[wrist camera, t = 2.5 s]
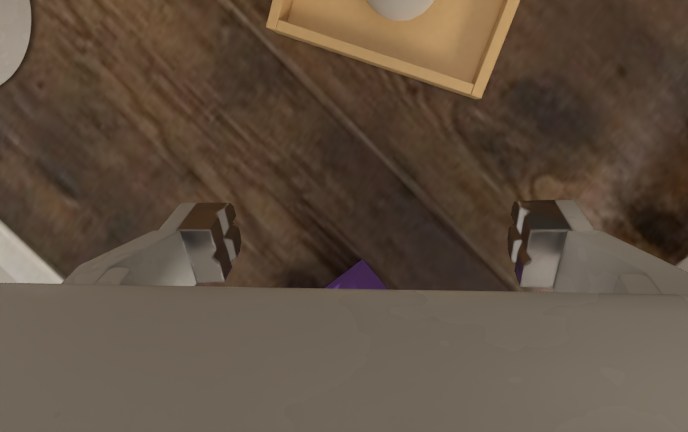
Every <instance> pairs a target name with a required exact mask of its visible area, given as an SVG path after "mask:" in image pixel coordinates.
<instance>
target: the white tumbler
mask: <svg viewBox="0 0 688 432" xmlns="http://www.w3.org/2000/svg"><path fill="white" fill-rule="evenodd" d="M367 1H368V3H369V5H370V6H371V7H372V8H373V9H374V10H375V11H376V12H377V13H378V14H379V15H380V16H382V17H385V18H387V19H390V20H392V21H406V20H411V19H413V18H415V17H417V16H419V15H421V14H423V13H424V12H425V11H426V10H427V9H428V8H429V7H430V6H431V4H432V3H433V2H434V1H435V0H367Z"/></svg>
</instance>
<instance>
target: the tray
mask: <svg viewBox="0 0 688 432" xmlns="http://www.w3.org/2000/svg"><path fill="white" fill-rule="evenodd" d="M519 2H520V0H435V1H434V2H433V3H432V4H431V6H430V7H429V8H428V9H427V10H426V11H425V12H424V13H423V14H421V15H419V16H417V17H415V18H413V19H411V20H406V21H392V20H390V19H387V18H385V17H382V16H380V15H379V14H378V13H377V12H376V11H375V10H374V9H373V8H372V7H371V6H370V5H369V3H368V1H367V0H273V1H272V4H271V8H270V12H269V16H268V20H267V24H266V27H267V28H269V29H270V30H272V31H274V32H275V33H278V34H281V35H284V36H287V37H290V38H293V39H296V40H299V41H302V42H305V43H308V44H311V45H314V46H317V47H320V48H323V49H326V50H329V51H332V52H335V53H338V54H341V55H344V56H347V57H350V58H353V59H356V60H359V61H362V62H365V63H368V64H371V65H374V66H377V67H380V68H383V69H386V70H389V71H392V72H395V73H398V74H401V75H404V76H407V77H410V78H413V79H416V80H419V81H422V82H425V83H428V84H431V85H434V86H437V87H440V88H443V89H446V90H449V91H452V92H455V93H458V94H461V95H464V96H467V97H470V98H473V99H480V98H482V95H483V92H484V90H485V87H486V85H487V82H488V80H489V77H490V75H491V72H492V70H493V67H494V65H495V62H496V60H497V57H498V55H499V52H500V50H501V47H502V45H503V42H504V40H505V37H506V35H507V32H508V30H509V27H510V25H511V22H512V20H513V17H514V15H515V12H516V10H517V7H518V4H519Z"/></svg>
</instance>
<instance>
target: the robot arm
mask: <svg viewBox="0 0 688 432" xmlns="http://www.w3.org/2000/svg"><path fill="white" fill-rule="evenodd" d="M30 33H31V7H30V0H0V85H1V84H3V83H4V82H5V81H7V80H8V79H9V78H10V77H11V76H12V75H13V74H14V72H15V71H16V70H17V68H18V67H19V65H20V64H21V62H22V60H23V58H24V56H25V53H26V50H27V47H28V43H29V39H30ZM511 216H512V218H513V221H514V224H513V225H512V226H511V227H510V228H509V231H508V252H509V256H510V259H511V261H513V262H514V263H516V265H515V273H516V276H517V279H518V281H519V284H520V287H543V288H553V289H554V290H555V291H556V292H506V291H446V290H386V289H327V288H268V287H209V286H194V285H196V284H197V282H225V280H226V278H227V276H228V274H229V272H230V270H231V268H232V266H231V261H233V260H234V259H236V258H237V256H238V254H239V252H240V246H241V235H240V231H239V228H238V227H237V226H236V225H235V224H234V223H233V220H234V219H235V217H236V214H235V210H234V206H233V205H232V204H231V203H198V202H194V203H181V204H180V205H179V206H178V207H177V208H176V210H175V211H174V212H173V213H172V214H171V216H170V217H169V218H168V219H167V220H166V222H165V223H164V224H163V225H162V227H161V228H160V229H159V230H158V231H151V232H149V233H147V234H145V235H143V236H141V237H139V238H137V239H135V240H132V241H130V242H128V243H126V244H124V245H122V246H120V247H118V248H116V249H113V250H111V251H109V252H107V253H105V254H103V255H101V256H99V257H96V258H94V259H92V260H90V261H88V262H86V263H84V264H82V265H80V266H78V267H77V268H76V269H75V270H74V271H73V272H72V273H71V274H70V275H69V276H68V277H67V278H66V280H65V281H64V282H63V283H62V284H31V283H0V432H688V272H686V271H684V270H682V269H680V268H678V267H676V266H674V265H672V264H669V263H667V262H665V261H663V260H661V259H659V258H657V257H655V256H653V255H651V254H648V253H646V252H644V251H642V250H640V249H638V248H636V247H634V246H632V245H630V244H628V243H625V242H623V241H621V240H619V239H617V238H615V237H613V236H611V235H609V234H607V233H605V232H602V231H595V230H594V228H593V227H592V225H591V224H590V222H589V221H588V220H587V218H586V217H585V215H584V214H583V212H582V211H581V209H580V208H579V207H578V205H577V204H576V202H575V201H574V200H571V199H568V200H538V201H515V202H514V204H513V207H512V212H511Z"/></svg>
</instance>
